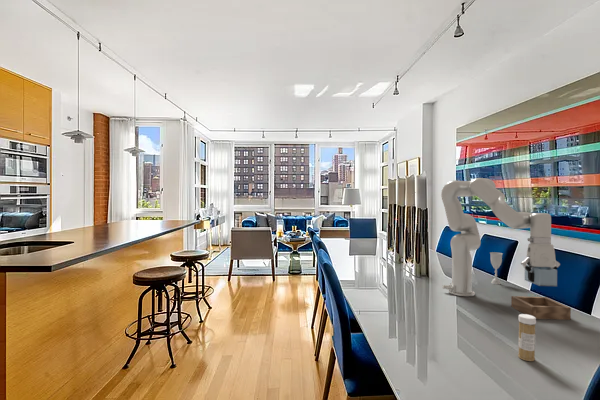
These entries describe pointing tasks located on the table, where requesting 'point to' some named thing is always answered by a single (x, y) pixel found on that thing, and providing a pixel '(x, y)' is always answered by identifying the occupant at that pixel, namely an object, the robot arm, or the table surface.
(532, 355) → the pill bottle
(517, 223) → the robot arm
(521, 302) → the walnut crate
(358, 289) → the table surface
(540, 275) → the block
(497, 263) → the chalice
